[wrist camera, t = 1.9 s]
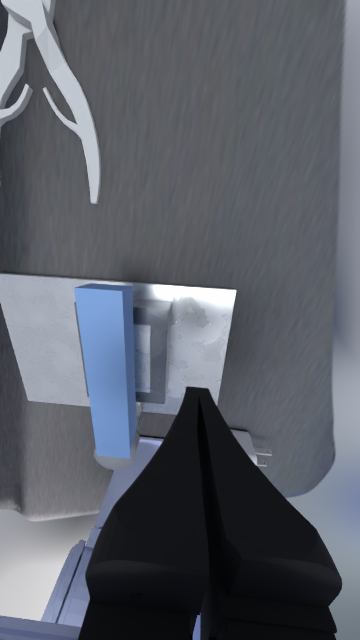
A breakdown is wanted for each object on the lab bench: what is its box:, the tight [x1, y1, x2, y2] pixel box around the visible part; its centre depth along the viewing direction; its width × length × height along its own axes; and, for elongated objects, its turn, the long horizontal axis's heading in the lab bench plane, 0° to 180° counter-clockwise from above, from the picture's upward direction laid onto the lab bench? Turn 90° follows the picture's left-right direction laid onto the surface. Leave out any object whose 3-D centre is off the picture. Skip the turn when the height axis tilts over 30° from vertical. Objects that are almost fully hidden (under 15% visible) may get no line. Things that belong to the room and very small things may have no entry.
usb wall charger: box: [230, 429, 272, 466], centre depth 23 cm, size 4×7×4 cm, turn 83°
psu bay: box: [0, 272, 236, 430], centre depth 18 cm, size 16×24×5 cm, turn 87°
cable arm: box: [74, 283, 140, 471], centre depth 15 cm, size 17×4×2 cm, turn 177°
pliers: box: [0, 0, 101, 205], centre depth 13 cm, size 10×2×15 cm
